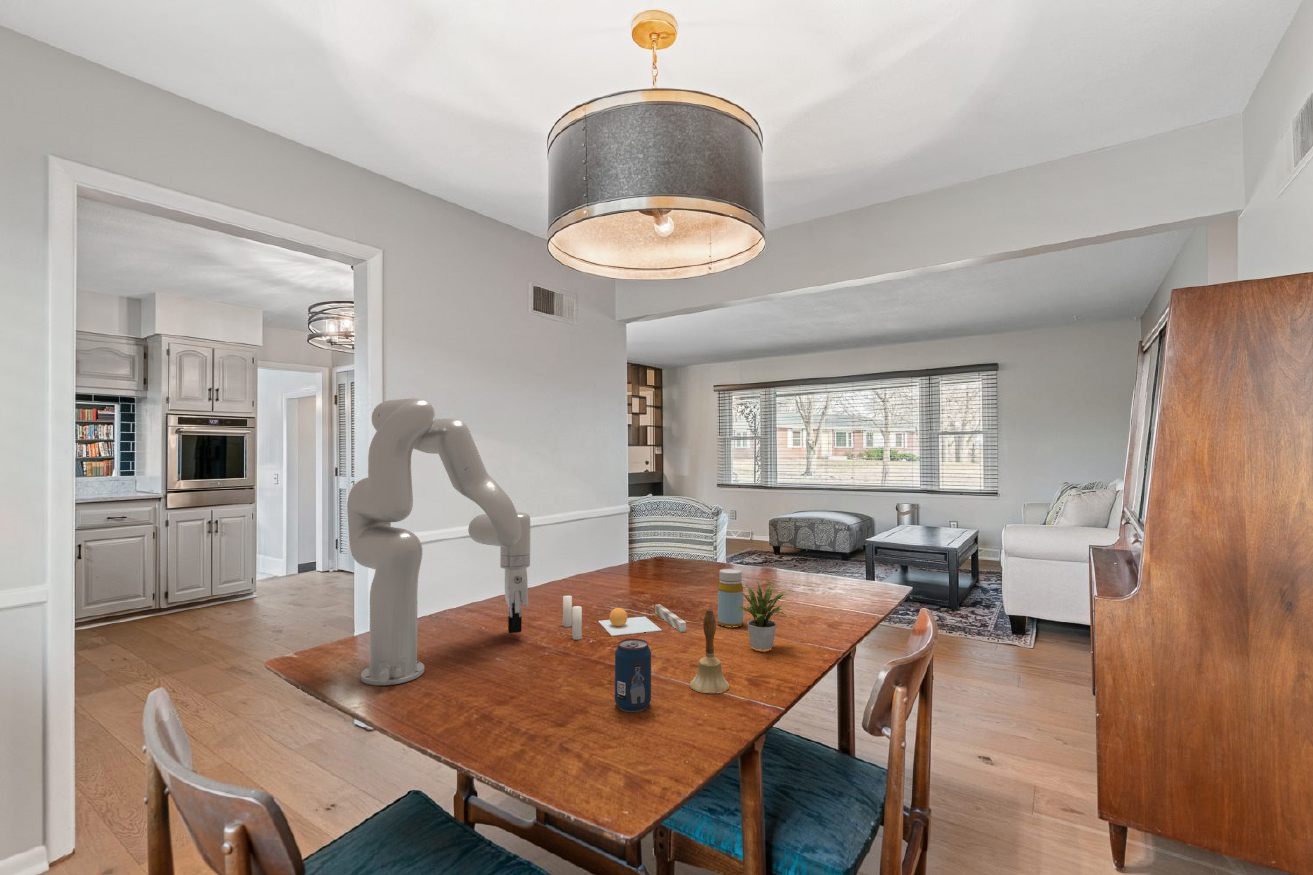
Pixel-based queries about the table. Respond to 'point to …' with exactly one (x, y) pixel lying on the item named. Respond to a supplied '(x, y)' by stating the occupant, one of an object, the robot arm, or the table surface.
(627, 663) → the soda can
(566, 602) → the post far
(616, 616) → the ball
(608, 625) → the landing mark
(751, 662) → the table surface
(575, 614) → the post near
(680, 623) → the wall
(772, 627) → the house plant
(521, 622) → the robot arm
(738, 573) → the bottle
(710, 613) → the hand bell
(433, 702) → the table surface
